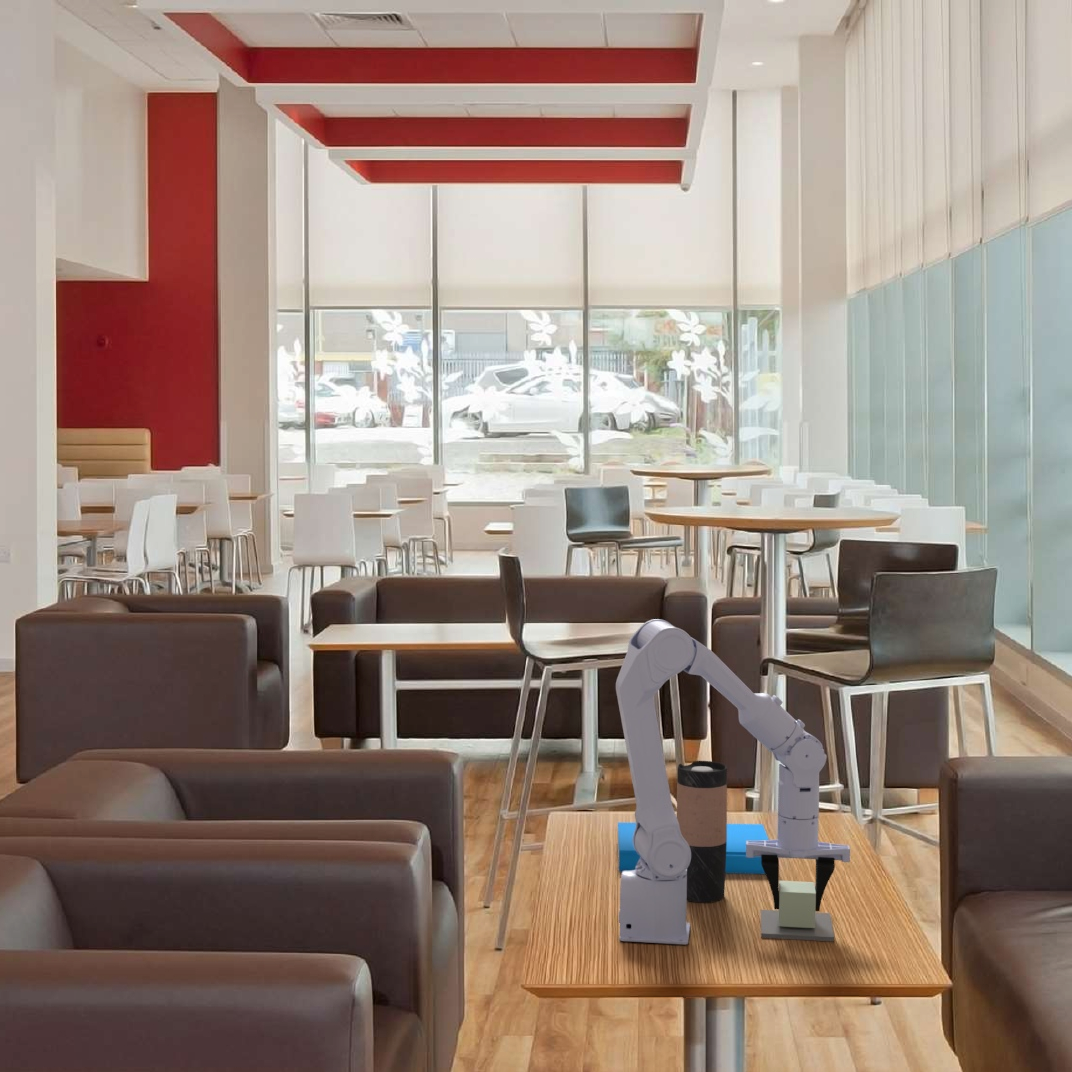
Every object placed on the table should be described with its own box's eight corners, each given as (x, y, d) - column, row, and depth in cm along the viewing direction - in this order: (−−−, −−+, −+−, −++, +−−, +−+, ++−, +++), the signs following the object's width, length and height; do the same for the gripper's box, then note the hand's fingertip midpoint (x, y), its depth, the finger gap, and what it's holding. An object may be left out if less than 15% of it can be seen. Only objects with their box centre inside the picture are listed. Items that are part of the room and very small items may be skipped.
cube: (779, 926, 202) (779, 891, 201) (778, 914, 206) (779, 880, 206) (815, 928, 201) (815, 893, 200) (813, 916, 206) (814, 882, 205)
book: (616, 822, 246) (762, 821, 245) (616, 847, 246) (762, 846, 245) (618, 851, 229) (775, 850, 228) (619, 878, 229) (775, 877, 228)
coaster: (761, 937, 200) (761, 933, 200) (760, 913, 210) (760, 909, 210) (834, 941, 198) (834, 937, 198) (830, 917, 208) (830, 913, 208)
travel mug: (724, 905, 213) (725, 773, 212) (673, 901, 215) (674, 770, 213) (727, 889, 221) (729, 761, 219) (678, 885, 222) (679, 759, 221)
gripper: (746, 819, 200) (745, 914, 201) (852, 824, 198) (850, 920, 199) (746, 806, 207) (745, 898, 208) (848, 810, 205) (847, 903, 206)
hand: (796, 908), depth 204 cm, fingers closed on cube, 5 cm apart
